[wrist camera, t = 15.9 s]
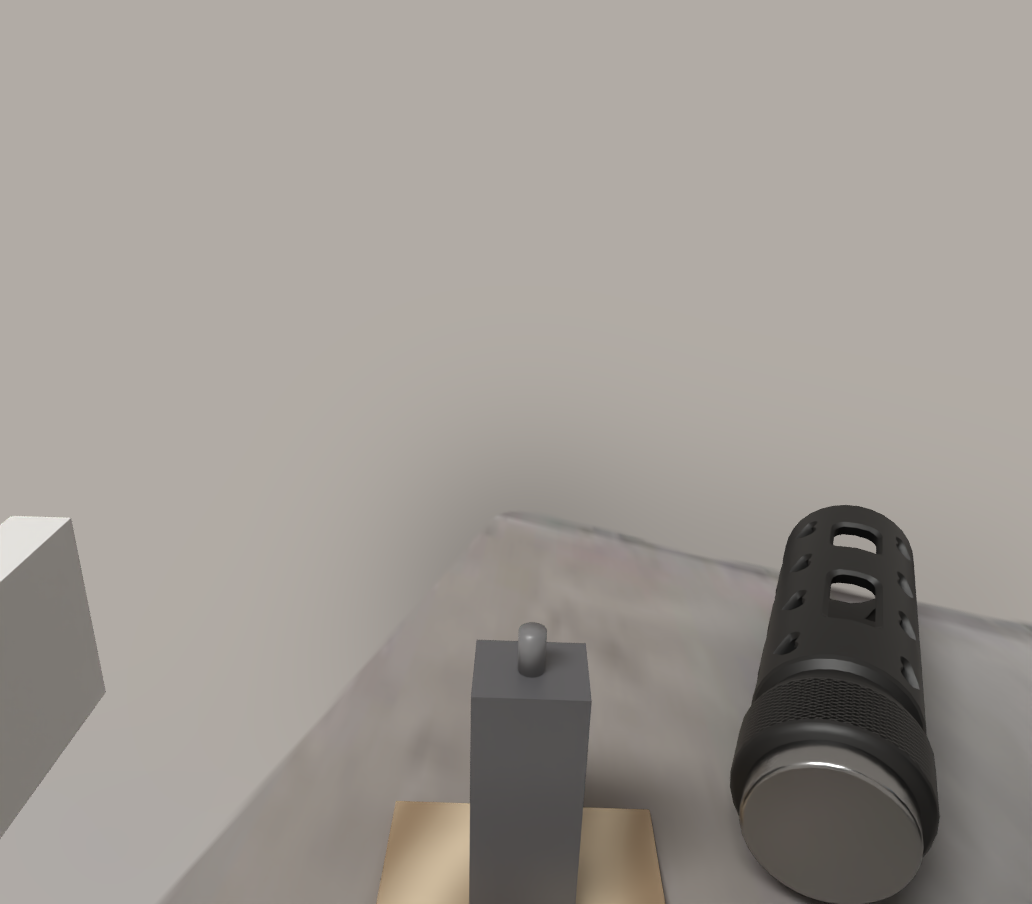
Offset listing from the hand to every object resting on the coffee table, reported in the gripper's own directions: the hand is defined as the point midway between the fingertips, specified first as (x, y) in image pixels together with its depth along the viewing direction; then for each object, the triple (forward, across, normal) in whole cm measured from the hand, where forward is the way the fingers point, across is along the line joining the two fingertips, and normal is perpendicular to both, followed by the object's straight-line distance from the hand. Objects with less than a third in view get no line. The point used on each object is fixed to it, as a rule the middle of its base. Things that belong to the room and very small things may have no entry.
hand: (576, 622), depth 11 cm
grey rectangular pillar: (+21, 0, -30) cm, 36 cm away
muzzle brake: (+33, +19, -30) cm, 49 cm away
